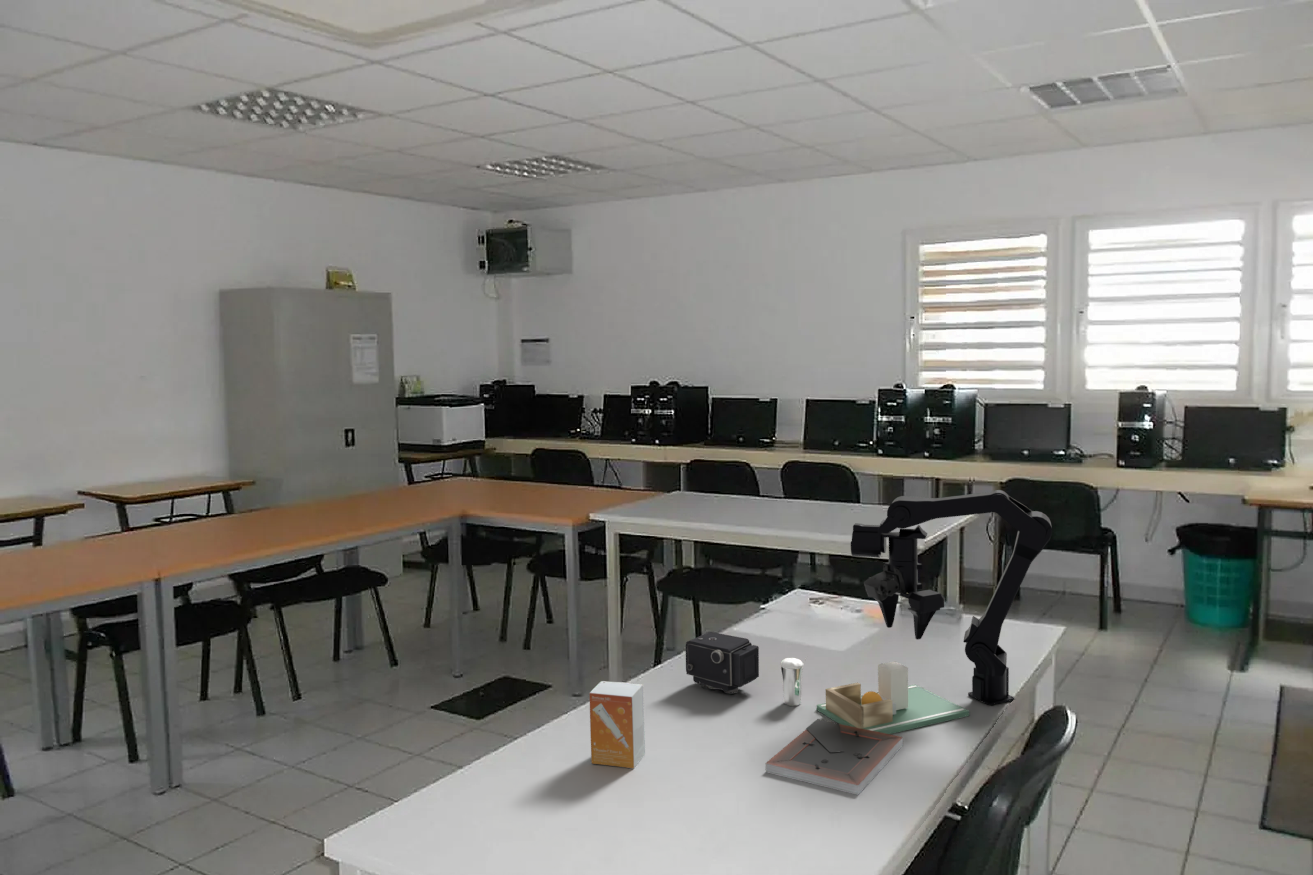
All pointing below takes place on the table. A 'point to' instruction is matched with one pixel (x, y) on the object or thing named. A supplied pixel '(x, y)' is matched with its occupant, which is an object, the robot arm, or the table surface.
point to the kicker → (893, 684)
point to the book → (835, 756)
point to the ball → (870, 697)
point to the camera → (722, 661)
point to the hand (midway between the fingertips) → (903, 633)
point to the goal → (857, 706)
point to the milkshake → (792, 680)
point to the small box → (617, 724)
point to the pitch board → (912, 712)
